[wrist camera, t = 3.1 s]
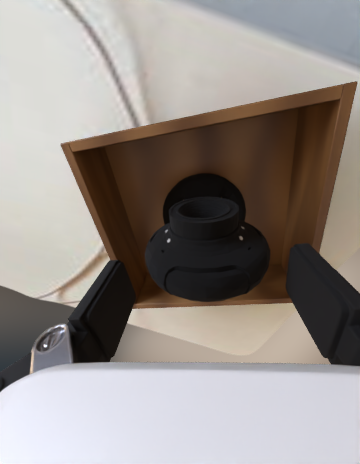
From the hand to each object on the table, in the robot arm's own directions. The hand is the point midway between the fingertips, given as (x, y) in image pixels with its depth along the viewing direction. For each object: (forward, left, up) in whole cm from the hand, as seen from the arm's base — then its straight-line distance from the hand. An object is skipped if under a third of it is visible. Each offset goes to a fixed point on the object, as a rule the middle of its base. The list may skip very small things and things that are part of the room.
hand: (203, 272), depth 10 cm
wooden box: (0, 0, -9) cm, 9 cm away
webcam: (0, 0, -8) cm, 8 cm away
